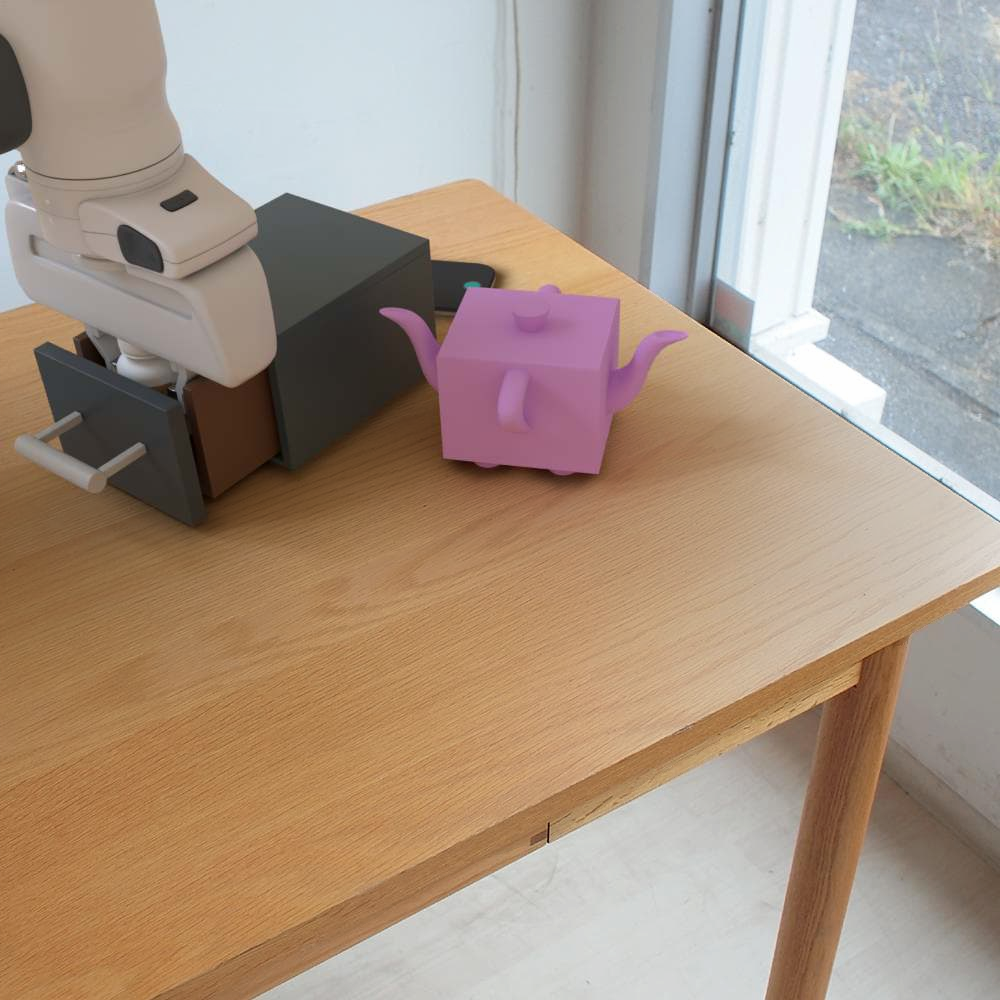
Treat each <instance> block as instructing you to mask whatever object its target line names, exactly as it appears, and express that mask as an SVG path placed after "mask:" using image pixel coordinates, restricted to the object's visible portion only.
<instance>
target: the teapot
mask: <svg viewBox="0 0 1000 1000" xmlns="http://www.w3.org/2000/svg"><path fill="white" fill-rule="evenodd" d="M379 312H380V313H381V314H382V315H383V316H385V317H387V318H389V319H391V320H392V321H394V322H396V323H397V324H399V325H400V326H401V327H402V328H403V329H404V330H405V332H406V333H407V335H408V336H409V338H410V340H411V342H412V344H413V346H414V349H415V352H416V355H417V358H418V360H419V363H420V366H421V369H422V371H423V374H424V377H425V380H426V381H427V383H428V384H429V385H430V386H431V387H432V389H433V390H434V391H436V392H437V393H438V401H439V403H438V404H439V417H440V431H441V432H440V433H441V444H442V459H446V460H454V461H463V462H464V461H465V462H474V464H475V465H476V466H479V467H480V468H485V469H486V468H488V469H489V468H495V467H498V466H500V465H503V466H504V465H505V466H513V467H523V468H535V469H543V470H549V472H550V473H553V474H554V475H557V476H569V475H572V474H574V473H583V474H593V475H594V474H595V475H600V471H601V466H602V463H603V458H604V453H605V450H606V446H607V442H608V439H609V434H610V429H611V425H612V421H613V418H614V414H615V413H619V412H621V411H622V410H624V409H626V408H627V407H629V406H630V405H631V404H632V403H633V402H634V401H635V400H636V399H637V398H638V396H639V395H640V393H641V391H642V388H643V387H644V385H645V383H646V380H647V377H648V375H649V372H650V370H651V367H652V366H653V364H654V362H655V359H656V358H657V357H658V356H659V354H660V353H661V351H663V350H664V349H665V348H667V347H668V346H670V345H673V344H675V343H678V342H682V341H683V340H685V339H688V338H689V334H688V333H687V332H685V331H682V330H675V329H662V330H657V331H653V332H651V333H649V334H648V335H645V337H644V338H643V339H642V340H641V341H640V342H639V344H638V345H637V346H636V349H635V351H634V353H633V354H632V355H633V356H632V357H631V359H630V361H629V362H628V363H627V364H626V365H624V366H622V367H620V368H619V361H620V360H619V354H620V351H619V350H620V323H621V321H620V319H621V299H620V298H618V297H610V296H609V297H607V296H599V295H598V296H597V295H587V294H586V295H584V294H583V295H582V294H571V293H562V291H561V289H560V287H558V286H557V285H554V284H545V285H543V286H540V287H539V288H538V289H537V291H535V290H534V291H533V290H521V289H508V288H507V289H506V288H494V287H493V288H481V287H468V288H467V291H466V293H465V295H464V297H463V300H462V302H461V304H460V306H459V308H458V311H457V313H456V315H455V317H453V319H452V321H451V324H450V326H449V329H448V330H447V332H446V334H445V337H444V339H443V342H442V344H441V345H440V344H439V343H438V340H437V341H436V340H435V338H434V336H433V335H432V333H431V331H430V329H429V327H428V326H427V324H426V323H425V322H424V321H423V319H422V318H421V317H419V316H418V315H417V314H415V313H414V312H412V311H409V310H406V309H402V308H383V309H380V310H379Z"/></svg>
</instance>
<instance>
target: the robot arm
mask: <svg viewBox="0 0 1000 1000" xmlns="http://www.w3.org/2000/svg"><path fill="white" fill-rule="evenodd" d="M167 74H168V57H167V52H166V47H165V42H164V37H163V32H162V28H161V23H160V17H159V13H158V9H157V4H156V0H0V156H1V155H4V154H7V153H9V152H12V151H13V150H16V151H18V152H19V153H20V156H21V160H17V161H15V163H14V164H13V165H12V166H10V167H9V168H8V171H7V174H5V176H4V183H5V188H6V192H7V195H8V199H9V200H8V201H7V202H6V204H5V207H4V223H5V225H4V226H5V230H6V231H5V232H6V237H7V242H8V248H9V253H10V258H11V263H12V267H13V271H14V275H15V279H16V281H17V284H18V285H19V287H20V288H21V290H22V291H23V292H24V294H25V295H26V297H27V298H28V299H29V300H31V301H32V302H35V303H37V304H39V305H42V306H44V307H45V308H48V309H50V310H53V311H55V312H58V313H60V314H62V315H64V316H66V317H69V318H71V319H73V320H75V321H77V322H80V323H81V324H83V327H84V328H83V329H84V331H85V332H86V334H87V335H88V336H89V338H90V339H91V341H92V342H93V344H94V345H95V347H96V348H97V350H98V351H99V353H100V354H101V356H102V357H103V358H104V359H105V363H106V367H107V369H109V370H111V371H114V372H116V373H117V362H118V359H119V357H120V356H121V354H122V353H121V351H120V348H119V346H118V341H117V338H118V339H121V340H123V341H125V342H127V343H129V344H132V345H134V346H136V347H138V348H141V349H143V350H145V351H147V352H150V353H152V354H154V355H157V356H159V357H161V358H163V359H166V360H168V361H170V364H171V369H172V370H173V371H174V372H176V373H179V375H178V379H177V382H174V383H172V384H171V385H169V386H168V387H166V389H167V393H168V397H170V398H172V399H175V400H177V401H179V402H181V403H182V407H183V411H184V413H185V414H187V415H188V412H187V407H186V403H185V398H184V394H183V389H182V387H183V386H185V385H186V384H188V383H190V382H191V381H193V380H194V379H196V378H198V377H199V376H201V375H202V376H204V377H206V378H208V379H211V380H213V381H215V382H217V383H220V384H222V385H224V386H226V387H230V388H234V387H237V386H239V385H241V384H242V383H244V382H246V381H247V380H249V379H251V378H252V377H254V376H255V375H257V374H258V373H260V372H261V371H263V370H264V369H265V368H267V367H268V366H269V364H270V363H271V362H272V360H273V359H274V357H275V355H276V351H277V339H276V331H275V323H274V317H273V310H272V305H271V300H270V294H269V290H268V285H267V280H266V277H265V273H264V270H263V268H262V265H261V263H260V261H259V259H258V257H257V256H256V254H255V253H254V252H253V250H252V249H251V248H250V247H249V246H248V245H246V243H247V242H249V241H250V240H252V239H253V238H254V237H256V236H257V233H258V224H257V218H256V214H255V212H254V210H255V209H254V208H253V206H252V205H251V204H250V203H249V202H248V201H246V200H245V199H244V198H242V197H241V196H240V195H239V194H237V193H235V191H233V190H232V189H230V188H228V187H227V186H226V185H224V184H223V183H222V182H220V181H219V180H218V179H217V178H216V177H215V176H214V175H212V174H211V173H210V172H209V171H208V170H207V169H205V168H204V166H202V164H201V163H200V162H199V160H197V159H196V158H195V157H194V156H193V155H191V154H190V153H187V152H185V149H184V148H185V147H184V143H183V138H182V133H181V129H180V125H179V123H178V121H177V119H176V117H175V115H174V113H173V112H172V109H171V107H170V104H169V101H168V96H167V87H166V85H167V84H166V83H167Z"/></svg>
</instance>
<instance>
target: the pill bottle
mask: <svg viewBox="0 0 1000 1000" xmlns="http://www.w3.org/2000/svg"><path fill="white" fill-rule="evenodd" d="M117 341H118V346H119V348H120V351H121V353H122V354H121V356H120V357H119V359H118V362H117V373H118V374H120V375H122V376H124V377H127V378H129V379H131V380H133V381H135V382H138V383H140V384H142V385H144V386H146V387H148V388H151V389H153V390H155V391H157V392H159V393H162V394H164V395H166V396H168V393H167V389H166V387H168V386H169V385H171V384H172V383H174V382H177V379H178V375H179V373H176V372H174V371H173V370H172V369H171V364H170V361H168V360H166V359H163V358H161V357H159V356H157V355H154V354H152V353H150V352H147V351H145V350H143V349H141V348H138V347H136V346H134V345H132V344H129V343H127V342H125V341H123V340H121V339H118V338H117ZM184 416H185V420H186V425H187V430H188V434H189V436H190V435H191V434H192V430H191V426H190V421H189V416H188V415H187V414H185V413H184Z"/></svg>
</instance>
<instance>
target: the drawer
mask: <svg viewBox="0 0 1000 1000" xmlns="http://www.w3.org/2000/svg"><path fill="white" fill-rule="evenodd" d="M72 341H73V346H74V348H75V352H76V353H75V352H72V351H70V350H67V349H66V348H63V347H61V346H59V345H57V344H54V343H53V342H50V341H45V342H44V343H41V344H40V345H39V346H36V347H34V348H33V349H32V351H33V354H34V357H35V362H36V364H37V368H38V371H39V374H40V378H41V381H42V385H43V389H44V391H45V395H46V398H47V402H48V405H49V408H50V411H51V416H52V419H53V422H54V423H53V424H51V425H50V426H48V427H46V428H45V429H43V430H41V431H40V432H38V433H36V434H34V436H33V435H31V434H29V433H22V434H20V435H18V437H17V438H16V439H15V441H14V444H13V449H14V452H15V454H17V455H18V456H21V457H22V458H24V459H26V460H28V461H30V462H32V463H34V464H35V465H37V466H39V467H41V468H44V469H45V470H46V471H49V472H51V473H53V474H54V475H56V476H58V477H60V478H62V479H64V480H65V481H67V482H70V483H71V484H73V485H75V486H77V487H79V488H80V489H82V490H85V491H86V492H87V493H90V494H93V495H94V494H99V493H101V492H102V491H103V490H104V489H105V487H106V485H107V483H108V484H110V485H112V486H114V487H116V488H118V489H120V490H122V491H124V493H127V494H130V495H131V496H133V497H135V498H137V499H139V500H141V501H143V502H144V503H147V504H149V505H151V506H152V507H155V508H156V509H159V510H160V511H162V512H164V513H165V514H168V515H170V516H172V517H174V518H176V519H177V520H179V521H182V522H183V523H185V524H187V525H189V526H191V527H195V526H197V525H198V524H200V523H201V522H202V521H204V520H205V519H206V518H207V511H206V507H205V502H204V497H203V495H206V496H208V497H210V498H212V499H216V498H217V497H219V496H220V495H221V494H223V493H224V492H225V491H227V490H228V489H230V488H231V487H232V486H234V485H235V484H237V483H238V482H239V481H241V480H242V479H244V478H245V477H246V476H248V475H249V474H251V473H252V472H254V471H255V470H256V469H258V468H259V467H261V466H262V465H263V464H265V463H266V462H268V461H270V460H269V459H270V458H272V457H273V456H275V455H276V454H277V453H279V452H280V451H282V449H281V443H280V437H279V431H278V425H277V419H276V414H275V408H274V402H273V396H272V390H271V384H270V378H269V372H268V367H267V368H265V369H264V370H263V371H261V372H260V373H258V374H257V375H255V376H254V377H252V378H251V379H249V380H247V381H246V382H244V383H242V384H241V385H239V386H237V387H234V388H230V387H226V386H224V385H222V384H220V383H217V382H215V381H213V380H211V379H208V378H206V377H204V376H202V375H201V376H199V377H198V378H196V379H194V380H193V381H191V382H190V383H188V384H186V385H185V386H183V387H182V389H183V394H184V398H185V403H186V407H187V412H188V416H189V421H190V426H191V430H192V434H191V435H190V436H189V434H188V430H187V425H186V420H185V416H184V411H183V407H182V403H181V402H179V401H177V400H175V399H172V398H170V397H168V396H166V395H164V394H162V393H159V392H157V391H155V390H153V389H151V388H148V387H146V386H144V385H142V384H140V383H138V382H135V381H133V380H131V379H129V378H127V377H124V376H122V375H120V374H118V373H116V372H114V371H111V370H109V369H107V367H106V363H105V359H104V358H103V357H102V356H101V354H100V353H99V351H98V350H97V348H96V347H95V345H94V344H93V342H92V341H91V339H90V338H89V336H88V335H87V334H86V332H85V330H84V331H82V332H80V333H79V334H77V335H75V336H73V337H72ZM56 438H59V441H60V445H61V449H62V450H60V449H58V448H57V447H54V446H53V445H51V444H48V443H49V442H51V441H53V440H55V439H56Z"/></svg>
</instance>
